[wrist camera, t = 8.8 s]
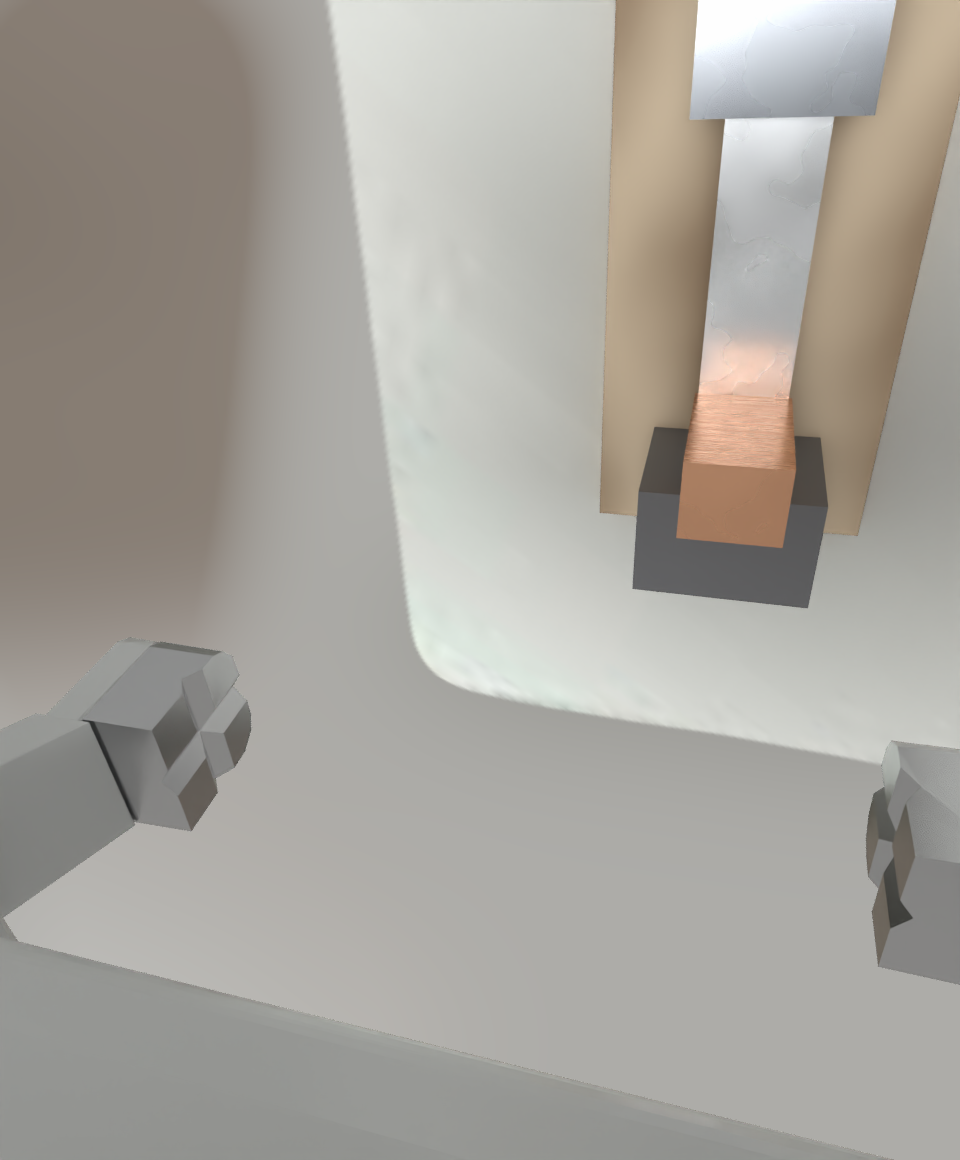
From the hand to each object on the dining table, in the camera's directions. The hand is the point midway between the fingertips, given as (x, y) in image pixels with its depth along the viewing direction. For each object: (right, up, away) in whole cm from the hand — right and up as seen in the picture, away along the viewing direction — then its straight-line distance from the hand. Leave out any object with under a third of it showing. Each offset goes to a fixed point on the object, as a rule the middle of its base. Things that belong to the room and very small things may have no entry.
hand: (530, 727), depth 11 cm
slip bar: (+8, +11, +18) cm, 23 cm away
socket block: (+9, +6, +23) cm, 25 cm away
